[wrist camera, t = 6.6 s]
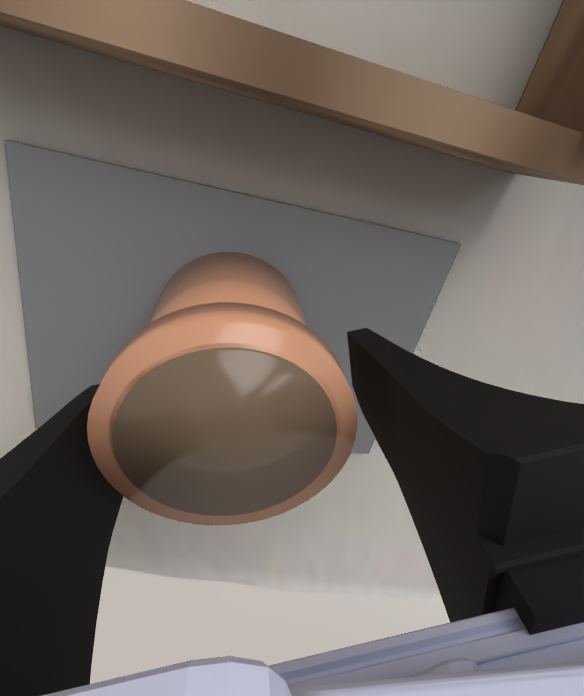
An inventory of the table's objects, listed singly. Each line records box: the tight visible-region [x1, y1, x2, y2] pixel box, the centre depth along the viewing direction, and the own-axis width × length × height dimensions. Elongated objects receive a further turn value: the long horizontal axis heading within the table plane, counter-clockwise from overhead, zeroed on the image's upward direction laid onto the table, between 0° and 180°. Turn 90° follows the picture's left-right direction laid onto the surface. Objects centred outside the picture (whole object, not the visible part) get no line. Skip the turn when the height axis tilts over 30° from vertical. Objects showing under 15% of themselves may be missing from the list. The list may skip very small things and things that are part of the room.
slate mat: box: [4, 140, 461, 454], centre depth 14 cm, size 14×10×1 cm
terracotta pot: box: [87, 252, 357, 525], centre depth 11 cm, size 6×6×6 cm
